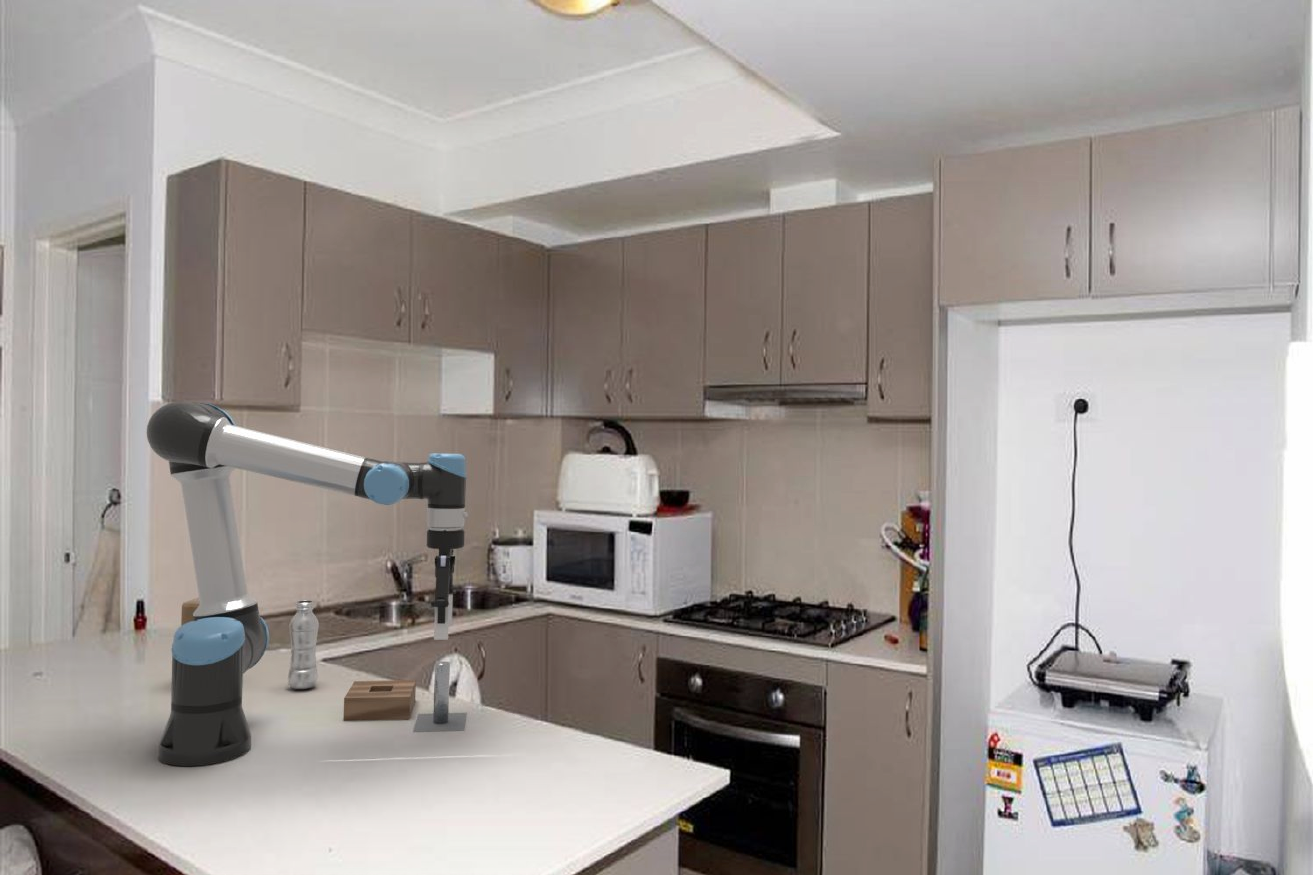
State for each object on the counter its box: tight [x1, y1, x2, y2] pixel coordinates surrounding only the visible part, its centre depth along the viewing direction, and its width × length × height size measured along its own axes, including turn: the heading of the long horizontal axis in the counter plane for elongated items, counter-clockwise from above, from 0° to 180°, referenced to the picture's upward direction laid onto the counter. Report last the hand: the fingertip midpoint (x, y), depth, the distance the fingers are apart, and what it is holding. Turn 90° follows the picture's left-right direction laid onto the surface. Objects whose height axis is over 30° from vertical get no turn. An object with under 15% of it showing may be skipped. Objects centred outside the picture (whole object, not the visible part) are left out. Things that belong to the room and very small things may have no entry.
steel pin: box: [433, 660, 451, 724], centre depth 183 cm, size 3×3×12 cm
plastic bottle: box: [287, 599, 320, 690], centre depth 206 cm, size 6×7×20 cm
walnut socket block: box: [343, 679, 417, 722], centre depth 190 cm, size 13×13×5 cm
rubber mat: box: [412, 712, 468, 733], centre depth 183 cm, size 12×10×1 cm
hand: (443, 632), depth 183 cm, fingers open, 13 cm apart
